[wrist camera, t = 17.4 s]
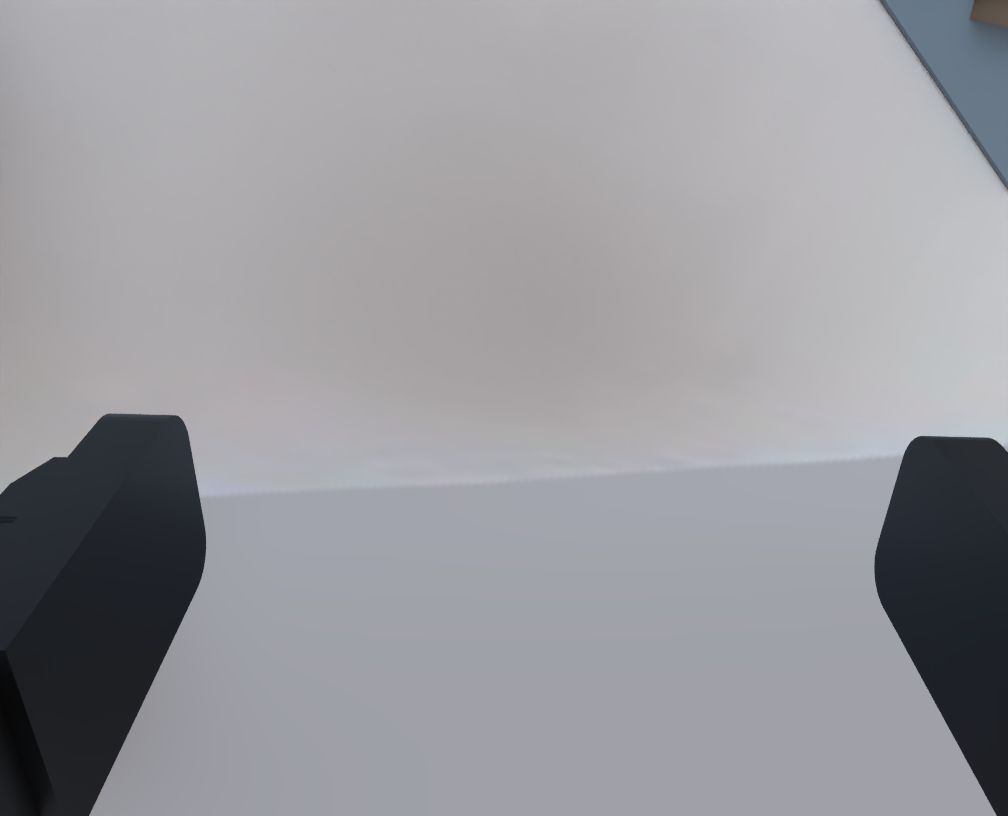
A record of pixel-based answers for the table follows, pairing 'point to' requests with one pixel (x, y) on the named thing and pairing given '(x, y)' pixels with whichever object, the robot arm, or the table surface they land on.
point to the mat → (963, 67)
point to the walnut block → (990, 11)
